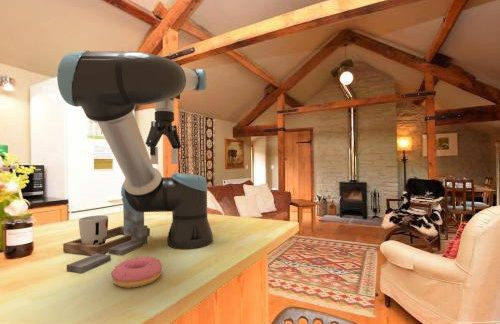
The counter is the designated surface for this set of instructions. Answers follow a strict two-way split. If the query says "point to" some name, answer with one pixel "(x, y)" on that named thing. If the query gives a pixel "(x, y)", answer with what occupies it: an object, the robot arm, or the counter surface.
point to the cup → (93, 229)
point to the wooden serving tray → (88, 249)
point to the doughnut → (136, 272)
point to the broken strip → (112, 251)
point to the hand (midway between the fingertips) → (165, 164)
